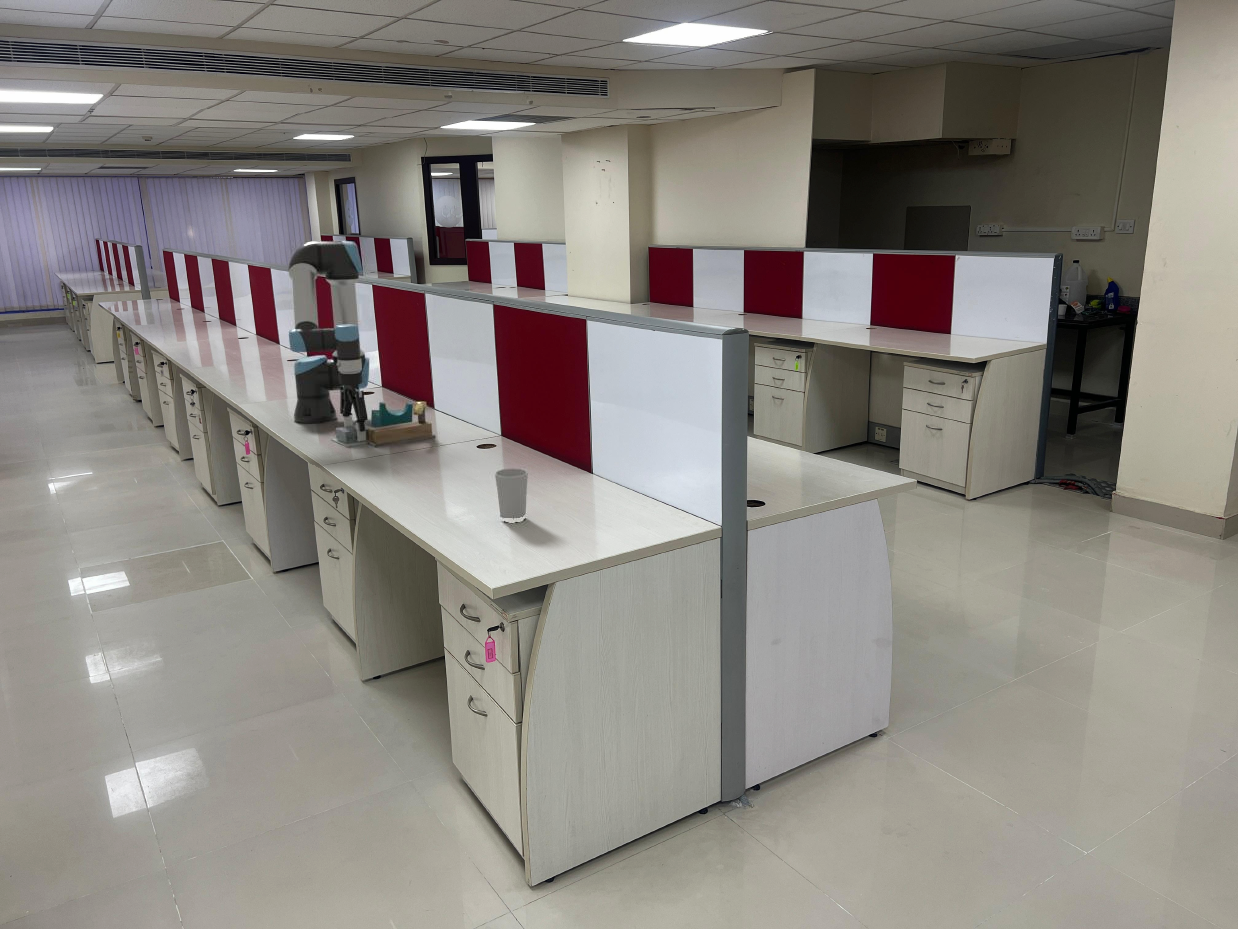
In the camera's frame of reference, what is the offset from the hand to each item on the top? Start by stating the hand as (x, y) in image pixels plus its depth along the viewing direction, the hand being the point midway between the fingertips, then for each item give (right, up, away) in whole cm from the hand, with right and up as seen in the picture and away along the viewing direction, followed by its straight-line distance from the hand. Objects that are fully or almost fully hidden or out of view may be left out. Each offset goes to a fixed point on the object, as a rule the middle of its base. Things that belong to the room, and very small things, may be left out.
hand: (355, 437), depth 298 cm
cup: (+63, -23, -79) cm, 104 cm away
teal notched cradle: (+7, +4, +19) cm, 21 cm away
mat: (0, -1, 0) cm, 1 cm away
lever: (+22, +9, -2) cm, 24 cm away
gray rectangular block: (0, -1, 0) cm, 1 cm away
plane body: (+15, -1, +1) cm, 15 cm away
